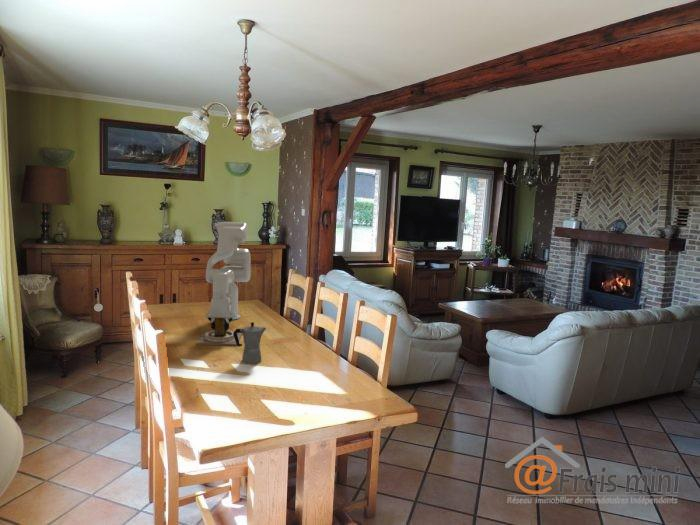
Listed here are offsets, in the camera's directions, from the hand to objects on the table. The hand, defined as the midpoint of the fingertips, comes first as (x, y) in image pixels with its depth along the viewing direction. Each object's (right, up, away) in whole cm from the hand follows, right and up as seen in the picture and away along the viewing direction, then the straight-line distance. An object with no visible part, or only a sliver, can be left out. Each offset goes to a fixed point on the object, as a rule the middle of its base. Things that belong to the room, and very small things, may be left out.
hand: (220, 329), depth 254 cm
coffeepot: (+21, -11, -28) cm, 37 cm away
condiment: (0, -3, 0) cm, 3 cm away
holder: (0, -5, +1) cm, 5 cm away
